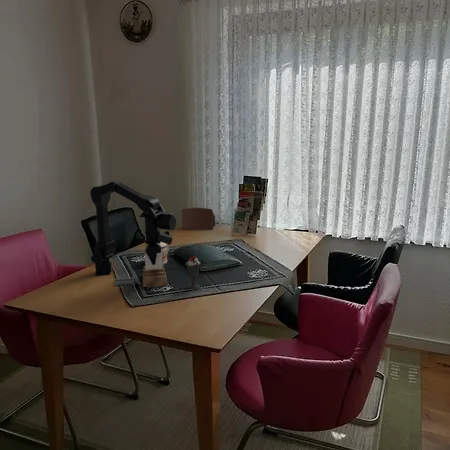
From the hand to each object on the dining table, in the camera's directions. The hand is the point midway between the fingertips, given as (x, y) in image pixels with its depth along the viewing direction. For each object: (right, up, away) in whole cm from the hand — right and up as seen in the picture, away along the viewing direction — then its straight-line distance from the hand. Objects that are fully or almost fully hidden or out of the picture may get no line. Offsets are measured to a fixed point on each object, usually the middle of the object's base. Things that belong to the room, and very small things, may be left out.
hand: (153, 263), depth 181 cm
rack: (0, -7, +2) cm, 8 cm away
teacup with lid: (-1, -2, +26) cm, 26 cm away
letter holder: (+14, +14, +92) cm, 94 cm away
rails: (-12, -8, -1) cm, 15 cm away
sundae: (+17, -9, -6) cm, 21 cm away
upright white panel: (0, -2, +1) cm, 2 cm away
